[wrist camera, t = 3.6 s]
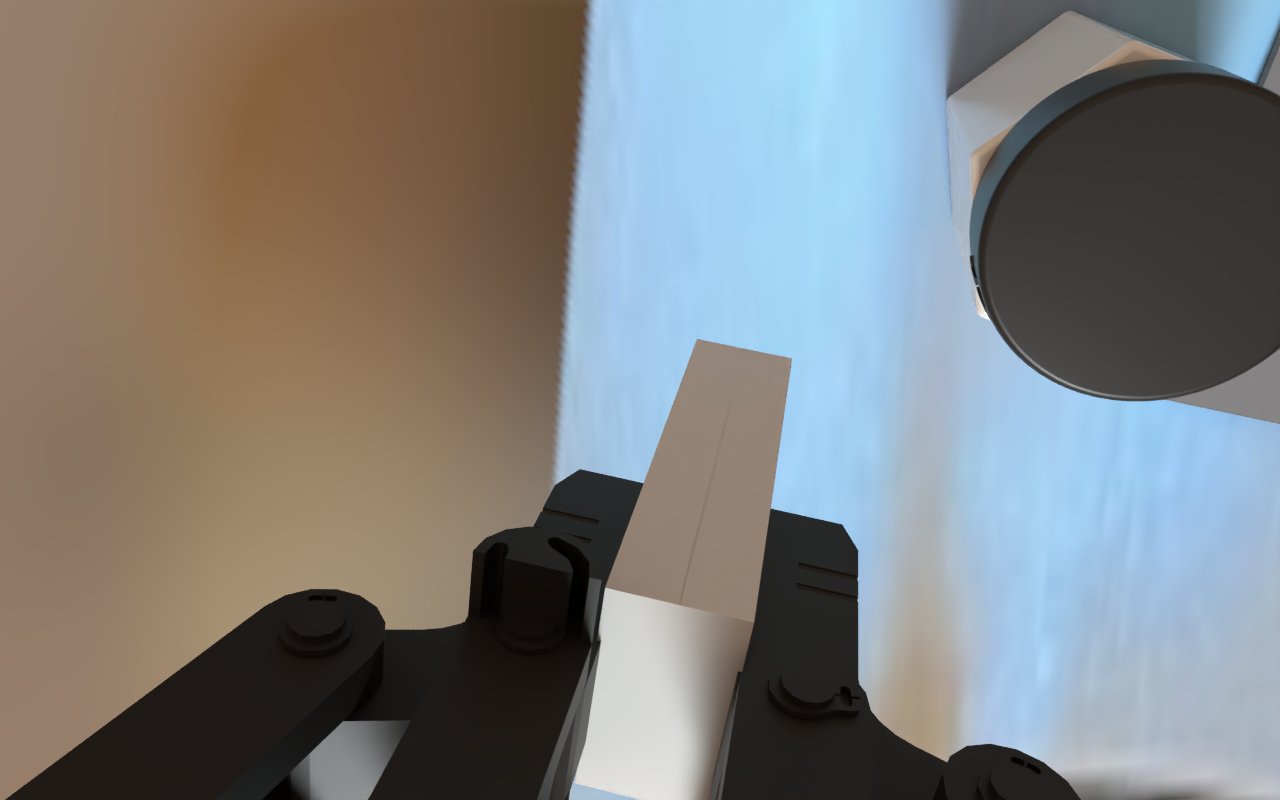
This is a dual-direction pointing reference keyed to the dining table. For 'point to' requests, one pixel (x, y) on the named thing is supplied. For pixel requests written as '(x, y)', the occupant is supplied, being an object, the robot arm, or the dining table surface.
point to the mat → (1275, 382)
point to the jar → (1119, 212)
